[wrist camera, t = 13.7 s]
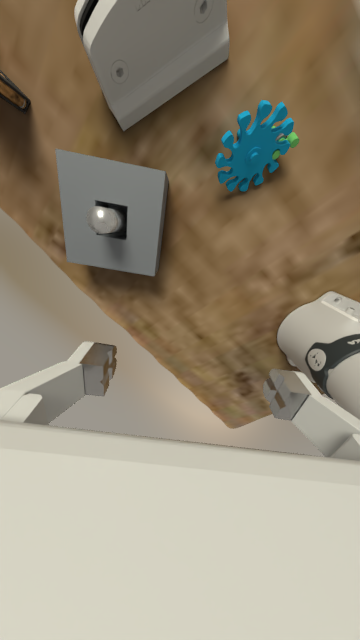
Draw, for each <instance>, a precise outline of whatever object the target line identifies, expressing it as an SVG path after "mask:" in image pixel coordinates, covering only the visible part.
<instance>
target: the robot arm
mask: <svg viewBox="0 0 360 640" xmlns="http://www.w3.org/2000/svg"><path fill="white" fill-rule="evenodd" d="M335 299H336V300H335ZM334 300H335V301H334ZM277 342H278V345H279V347H280V349H281V350H282V351H283V352H284V353H285V354H286V355H287V360H288V362H289V363H290V364H291V365H292V366H297V367H298V368H299V369H300V370H301V371H302V372H303V373H302V372H297V371H286V370H279V369H272V370H271V371H270V373H269V376H270V378H269V379H267V380H266V381H265V383H264V385H263V393H264V396H265V398H266V399H267V400H268V401H269V402H270V406H269V407H270V409H271V411H272V413H273V415H274V417H275V418H278V419H284V420H291V421H292V423H293V424H294V425H295V426H296V427H297V428H298V429H299V430H300V431H301V432H302V433H303V434H304V435H305V436H306V437H307V438H308V439H309V440H310V441H311V442H312V443H313V444H314V445H315V446H316V447H317V448H318V450H319V451H320V452H322V454H323V455H324V456H325V457H321V456H312V455H303V454H294V453H286V452H277V451H268V450H259V449H250V448H241V447H233V446H224V445H215V444H207V443H198V442H188V441H180V440H171V439H163V438H154V437H146V436H137V435H128V434H119V433H110V432H102V431H93V430H84V429H75V428H66V427H58V426H49V424H48V423H50V422H51V421H52V420H54V419H55V418H56V417H58V416H59V415H60V414H61V413H63V412H64V411H65V410H67V409H68V408H69V407H71V406H72V405H73V404H75V403H76V402H77V401H78V400H80V399H81V398H82V397H84V396H85V395H95V396H104V395H105V393H106V391H107V388H108V386H109V380H110V379H112V378H113V375H114V372H115V369H116V358H115V355H116V353H117V351H116V350H117V348H116V346H114V345H108V344H101V343H95V342H89V341H84V342H83V343H82V344H81V345H80V346H79V347H78V348H77V350H76V351H75V352H74V353H73V354H72V356H71V357H70V358H69V359H68V360H67V361H66V362H60V363H58V364H56V365H54V366H51V367H49V368H47V369H44V370H42V371H40V372H37V373H35V374H33V375H30V376H28V377H26V378H23V379H21V380H19V381H17V382H14V383H12V384H10V385H7V386H5V387H3V388H0V640H360V303H359V302H357V301H354V300H352V299H350V298H347V297H345V296H343V295H340V294H338V293H336V292H332V291H331V292H328V293H326V294H324V295H323V296H321V297H320V298H319V299H317V300H316V301H314V302H311V303H308V304H306V305H303V306H301V307H299V308H297V309H296V310H294V311H293V312H292V313H290V314H289V315H288V316H287V317H286V318H285V320H284V321H283V322H282V324H281V326H280V328H279V330H278V334H277ZM306 376H307V377H308V378H309V379H310V380H311V381H312V382H314V383H317V385H318V387H319V388H320V389H321V390H322V391H323V392H324V393H325V394H326V395H327V396H328V397H330V398H332V399H334V400H335V401H336V403H337V404H338V405H339V406H338V405H337V404H335V403H333V402H332V401H331V400H329V399H328V398H326V397H323V396H322V395H321V394H320V393H319V391H318V390H317V389H316V388H315V387H314V385H313V384H312V383H311V382H310V380H309V379H308V378H307V377H306Z"/></svg>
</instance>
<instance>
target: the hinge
mask: <svg viewBox="0 0 360 640" xmlns="http://www.w3.org/2000/svg"><path fill="white" fill-rule="evenodd" d="M74 13H75V20H76V25H77V29H78V33H79V36H80V38H81V41H82V43H83V46H84V48H85V51H86V53H87V55H88V58H89V60H90V63H91V65H92V68H93V70H94V72H95V75H96V77H97V80H98V82H99V85H100V87H101V90H102V92H103V94H104V97H105V99H106V101H107V104H108V106H109V108H110V110H111V111H112V113H113V114H114V116H115V118H116V119H117V121H118V123H119V124H120V126H121V128H122V130H123V131H125V130H126V129H128V128H129V127H131V126H132V125H134V124H135V123H136V122H138V121H139V120H141V119H142V118H144V117H145V116H146V115H148V114H149V113H151V112H152V111H154V110H155V109H157V108H158V107H159V106H161V105H162V104H164V103H165V102H167V101H168V100H169V99H171V98H172V97H174V96H175V95H177V94H178V93H179V92H181V91H182V90H184V89H185V88H187V87H188V86H189V85H191V84H192V83H194V82H195V81H197V80H198V79H199V78H201V77H202V76H204V75H205V74H207V73H208V72H209V71H211V70H212V69H214V68H215V67H217V66H218V65H219V64H221V63H222V62H224V61H225V60H227V59H228V55H229V33H228V24H227V1H226V0H78V1H77V4H76V6H75V12H74Z"/></svg>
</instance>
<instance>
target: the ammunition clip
mask: <svg viewBox="0 0 360 640" xmlns="http://www.w3.org/2000/svg"><path fill="white" fill-rule="evenodd" d="M0 97H1V98H3V99H4V100H6V101H7V102H8V103H10V104H11V105H13V106H14V107H15V108H17V109H18V110H20V111H21V112H23V113H24V114H25V113H26V111H27V108H28V106H29V104H30V100H29V99H28V98H27V97H26V96H25V95H24V94H23V93H22V92H21V91H20V90H19V88H18V87H17V86H16V85H15V84H14V83H13V82H12V81H11V80H10V79H9V78H8V77H7V76H6V75H5V74H4V73H3V72H2V71H1V70H0Z"/></svg>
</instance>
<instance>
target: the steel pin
mask: <svg viewBox="0 0 360 640" xmlns="http://www.w3.org/2000/svg"><path fill="white" fill-rule="evenodd" d="M86 218H87V223H88V225H89V227H90V228H91V229H92V230H93V231H94V232H96V233H98V234H105V233H112V232H119V231H126V230H127V213H126V212H124V211H120V210H115V209H110V208H104V207H99V206H94V207H92V208H90V209H89V210H88V212H87V217H86Z"/></svg>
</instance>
